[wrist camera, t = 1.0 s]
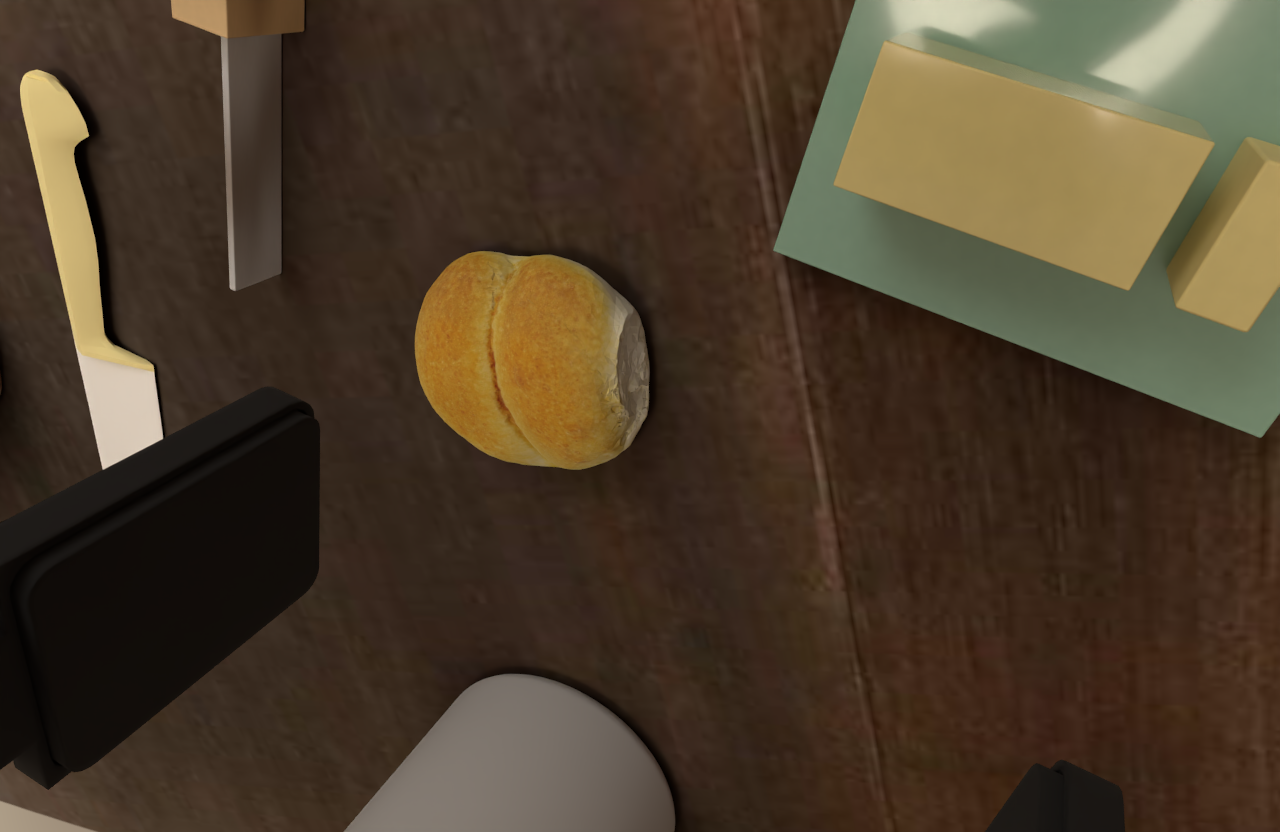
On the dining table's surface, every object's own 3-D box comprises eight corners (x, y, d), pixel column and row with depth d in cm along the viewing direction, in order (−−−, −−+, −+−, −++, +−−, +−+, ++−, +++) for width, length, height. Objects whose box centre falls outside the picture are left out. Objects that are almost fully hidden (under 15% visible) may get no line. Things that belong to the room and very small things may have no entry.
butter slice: (1246, 135, 20) (1267, 158, 18) (1319, 157, 20) (1351, 185, 18) (1164, 270, 22) (1174, 308, 20) (1230, 293, 22) (1247, 334, 20)
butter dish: (904, -126, 22) (873, -141, 19) (1539, 39, 18) (1634, 57, 15) (781, 242, 27) (740, 280, 24) (1255, 422, 24) (1282, 495, 21)
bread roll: (429, 242, 33) (357, 272, 30) (645, 249, 29) (590, 285, 26) (466, 437, 36) (405, 483, 33) (663, 465, 33) (616, 520, 30)
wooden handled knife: (248, -257, 28) (152, -283, 25) (308, -241, 27) (217, -264, 24) (256, 262, 37) (188, 286, 34) (301, 282, 37) (235, 309, 34)
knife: (204, 642, 55) (137, 617, 56) (125, 88, 37) (27, 61, 37) (190, 657, 54) (121, 631, 54) (100, 93, 35) (0, 65, 36)
